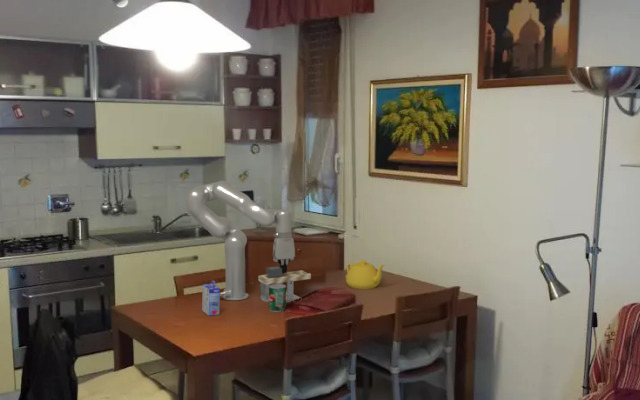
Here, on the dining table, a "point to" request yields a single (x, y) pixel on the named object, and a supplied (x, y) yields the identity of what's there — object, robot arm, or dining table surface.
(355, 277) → the teapot
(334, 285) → the dining table surface
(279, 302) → the canned tomato
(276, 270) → the block
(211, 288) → the ink cartridge box
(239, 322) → the dining table surface
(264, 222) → the robot arm
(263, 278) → the balance beam
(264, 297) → the beam stand
